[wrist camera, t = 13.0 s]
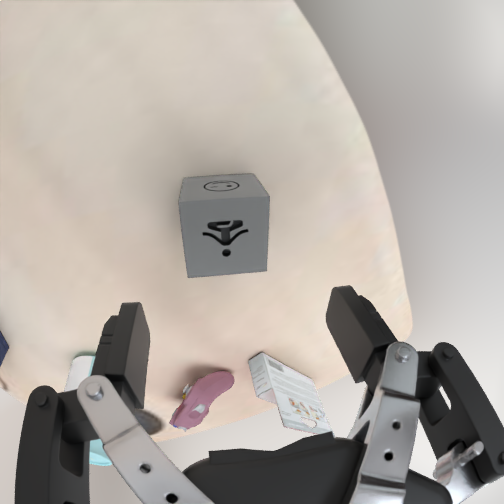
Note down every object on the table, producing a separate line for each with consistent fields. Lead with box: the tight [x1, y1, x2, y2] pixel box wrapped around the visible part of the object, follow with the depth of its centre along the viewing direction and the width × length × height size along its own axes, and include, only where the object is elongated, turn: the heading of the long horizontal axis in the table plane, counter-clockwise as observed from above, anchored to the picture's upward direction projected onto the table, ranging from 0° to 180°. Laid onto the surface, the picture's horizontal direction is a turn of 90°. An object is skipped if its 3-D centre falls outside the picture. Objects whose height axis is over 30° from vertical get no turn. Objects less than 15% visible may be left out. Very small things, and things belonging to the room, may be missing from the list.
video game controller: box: [169, 371, 234, 431], centre depth 29 cm, size 10×5×7 cm, turn 152°
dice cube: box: [179, 174, 270, 278], centre depth 18 cm, size 5×5×5 cm
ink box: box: [248, 352, 335, 437], centre depth 28 cm, size 2×11×10 cm, turn 42°
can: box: [64, 356, 112, 466], centre depth 22 cm, size 7×7×12 cm
